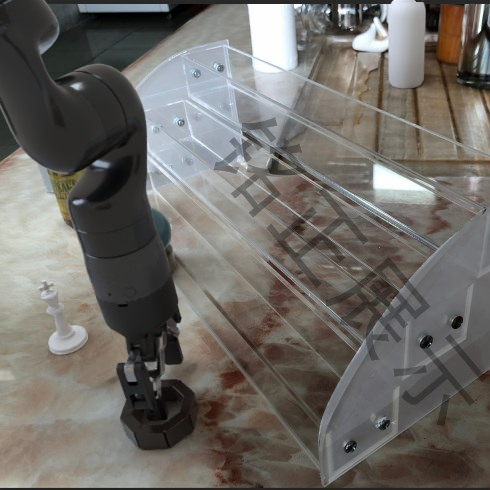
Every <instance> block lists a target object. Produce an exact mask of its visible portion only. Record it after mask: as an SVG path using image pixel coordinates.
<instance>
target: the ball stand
mask: <svg viewBox="0 0 490 490" xmlns="http://www.w3.org/2000/svg"><path fill="white" fill-rule="evenodd" d="M151 210H152V213H153V217H154V221H155V224H156V228H157V231H158V234H159V236H160V238H161V240H162V242H163V245H164V248H165V251H166V255H167V259H168V262H169V266H170V270H171V274H172V275H173V273H174V272H175V270H176V269H177V261H175V260H176V257H175V258H174V256H175V253H174V249H173V246H172V244H171V240H172V227H171V224H170V222H169V220H168V218H167V216H166V215H165V214H164V213H163V212H161V211H160V210H159V209H157V208H155V207H152V206H151Z"/></svg>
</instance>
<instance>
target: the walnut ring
mask: <svg viewBox="0 0 490 490" xmlns="http://www.w3.org/2000/svg"><path fill="white" fill-rule="evenodd" d="M150 381H151V384H152V388H153V380H150ZM161 390H162V393H163V396H164V399H165V402H166V403H173V402H175V403H176V402H177V403H178V404H179V405H180V410H179V412H178V413H176V414H175V415H174V416H172V417H171V418H169V419H167V420H166V421H164V422H163V423H162V424H145V425H144V424H141V423H140V421H141V417H142V414H144V413H145V411H144V409H136V410H130V409H129V407H128V404H127V401H126V400H125V402H124V405H123V406H122V407H123V408H122V411H121V413H120V416H119V420H120V423H121V425H122V428H123V431H124V433H125V435H126V436H127V438H128V439H129V440H130V441H131V442H132V443H133V444H134V445H135V446H136V448H138V449H139V450H165V449H167V450H168V449H169V448H172V447H174V446H176V445H177V443H179V442H181V441H182V440H184V439H185V438H186V437H188V436H189V435H190V434H191V433H193V431H194V430H195V428H196V422H197V419H198V414H199V410H200V409H199V408H200V407H199V405H198V400H197V398H196V394H195V391H193V390H192V389H191V388H190V386H188V385H187V384H186V383H185V382H184V381H182V380H181V379H178V378H168V379H167V378H166V379H165V378H164V379H161Z"/></svg>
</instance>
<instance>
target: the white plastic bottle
mask: <svg viewBox="0 0 490 490" xmlns="http://www.w3.org/2000/svg"><path fill="white" fill-rule="evenodd" d="M426 14H427V13H426V6H425V3H424V2H416V1H415V0H392V1H391V3H390V5H389V7H388V13H387V22H388V23H387V24H388V25H387V27H388V28H387V29H388V30H387V33H388V35H387V36H388V37H387V39H388V43H387V44H388V45H387V48H388V50H387V51H388V57H387V58H388V83H389V84H390V86H392V87H393V88H396V89H401V90H403V89H404V90H405V89H406V90H407V89H414V88H418V87H420V86H421V85H422V83H423V82H424V79H425V50H426V16H427V15H426Z"/></svg>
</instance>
